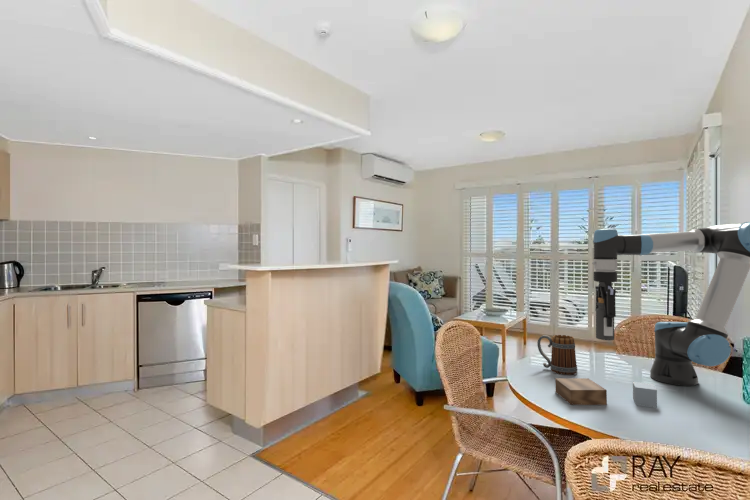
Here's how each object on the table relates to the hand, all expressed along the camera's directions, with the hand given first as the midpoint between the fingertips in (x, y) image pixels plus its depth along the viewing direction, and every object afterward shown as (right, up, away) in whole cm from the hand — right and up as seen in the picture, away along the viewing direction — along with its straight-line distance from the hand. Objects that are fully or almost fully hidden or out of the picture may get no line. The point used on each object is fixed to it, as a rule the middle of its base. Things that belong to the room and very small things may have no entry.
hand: (605, 333), depth 144 cm
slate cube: (+7, -21, -11) cm, 25 cm away
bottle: (0, -2, 0) cm, 2 cm away
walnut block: (-12, -21, -6) cm, 26 cm away
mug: (-6, -22, +25) cm, 34 cm away
